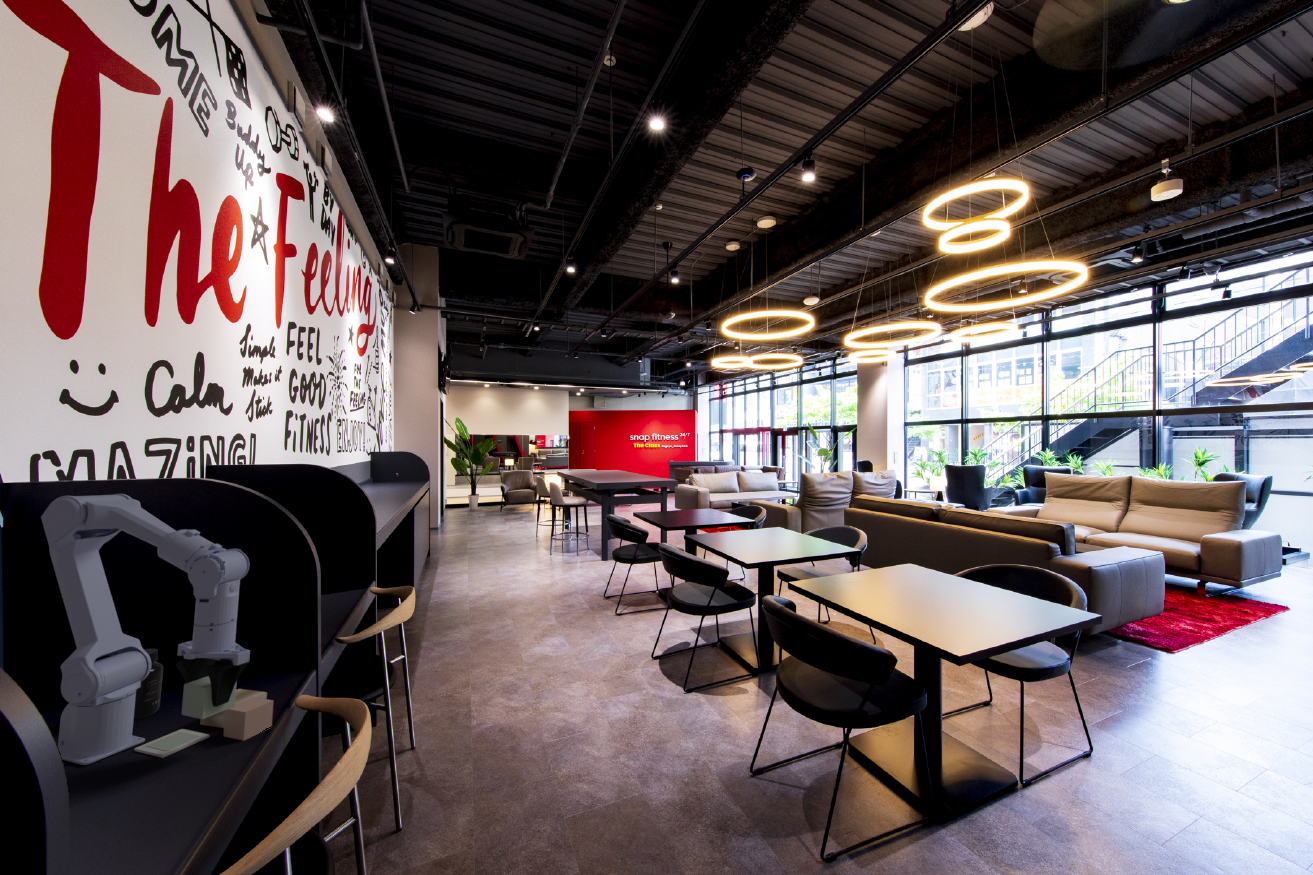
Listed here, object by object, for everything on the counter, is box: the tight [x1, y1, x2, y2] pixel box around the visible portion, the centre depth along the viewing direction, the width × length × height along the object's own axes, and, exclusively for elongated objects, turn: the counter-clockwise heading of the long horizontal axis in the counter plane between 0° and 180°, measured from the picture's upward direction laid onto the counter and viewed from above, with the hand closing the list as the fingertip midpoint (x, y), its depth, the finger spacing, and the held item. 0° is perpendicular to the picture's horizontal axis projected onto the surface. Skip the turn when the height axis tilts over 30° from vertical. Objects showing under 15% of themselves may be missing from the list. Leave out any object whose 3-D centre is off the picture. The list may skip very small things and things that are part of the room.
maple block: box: [199, 688, 268, 729], centre depth 99 cm, size 7×7×4 cm
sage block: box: [181, 676, 238, 720], centre depth 87 cm, size 5×5×5 cm
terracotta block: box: [223, 697, 274, 742], centre depth 94 cm, size 5×5×5 cm
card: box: [134, 728, 210, 759], centre depth 89 cm, size 7×7×1 cm
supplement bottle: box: [133, 648, 164, 722], centre depth 99 cm, size 7×7×12 cm
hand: (209, 701), depth 87 cm, fingers closed on sage block, 5 cm apart
